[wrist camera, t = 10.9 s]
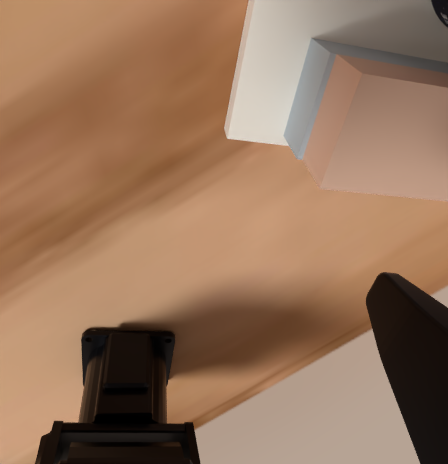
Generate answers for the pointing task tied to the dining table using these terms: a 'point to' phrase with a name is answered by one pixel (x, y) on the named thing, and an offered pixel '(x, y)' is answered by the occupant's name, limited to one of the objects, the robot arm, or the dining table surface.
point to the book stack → (372, 121)
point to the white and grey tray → (296, 46)
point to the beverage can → (441, 10)
